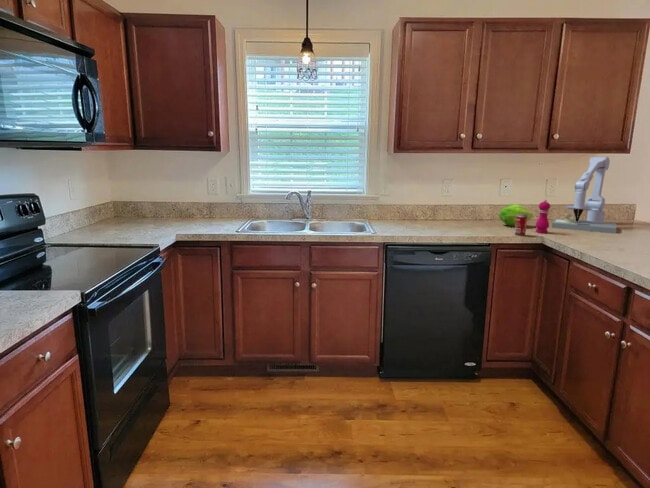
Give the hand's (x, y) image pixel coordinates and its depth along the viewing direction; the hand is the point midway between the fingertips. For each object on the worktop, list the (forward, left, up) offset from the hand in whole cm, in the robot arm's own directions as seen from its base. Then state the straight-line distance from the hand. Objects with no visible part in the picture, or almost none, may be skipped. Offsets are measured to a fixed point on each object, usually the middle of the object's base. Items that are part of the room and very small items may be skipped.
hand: (577, 221), depth 272 cm
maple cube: (+4, -1, -1) cm, 5 cm away
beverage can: (+43, +33, -4) cm, 55 cm away
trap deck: (-5, +2, -4) cm, 6 cm away
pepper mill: (+28, +23, -4) cm, 37 cm away
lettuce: (+38, +3, -4) cm, 39 cm away
